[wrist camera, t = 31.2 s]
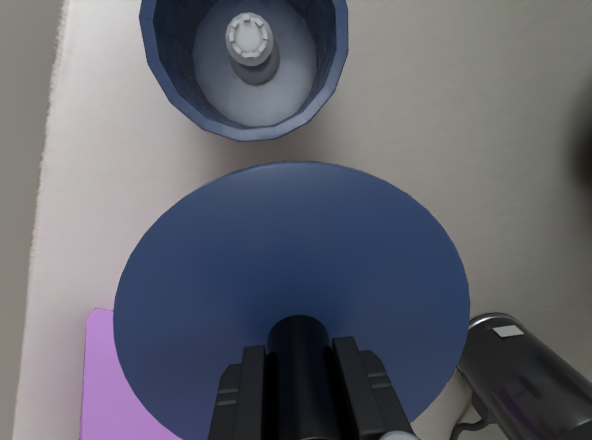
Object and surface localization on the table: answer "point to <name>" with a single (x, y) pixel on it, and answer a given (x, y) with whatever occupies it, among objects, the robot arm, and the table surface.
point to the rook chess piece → (252, 49)
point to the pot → (220, 75)
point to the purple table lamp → (111, 391)
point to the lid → (289, 297)
